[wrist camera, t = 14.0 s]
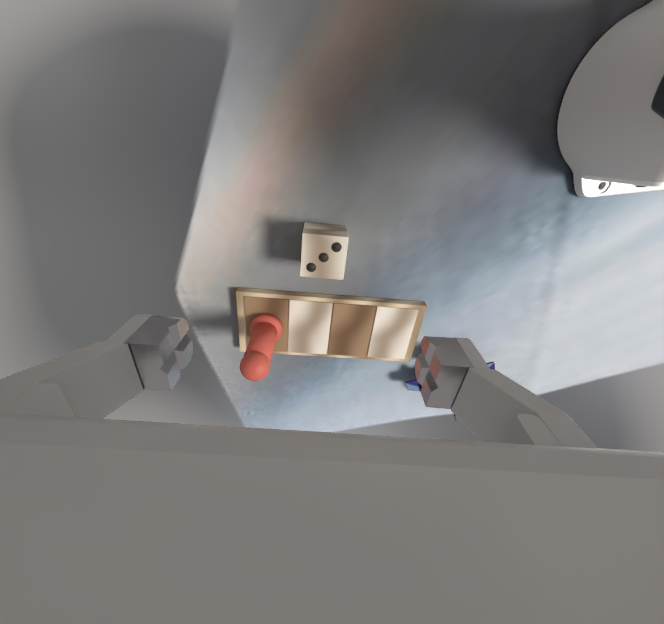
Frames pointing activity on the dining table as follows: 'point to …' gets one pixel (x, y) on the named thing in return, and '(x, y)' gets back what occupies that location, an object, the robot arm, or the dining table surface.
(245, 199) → the dining table surface
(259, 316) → the pawn
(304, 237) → the die
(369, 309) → the track board
